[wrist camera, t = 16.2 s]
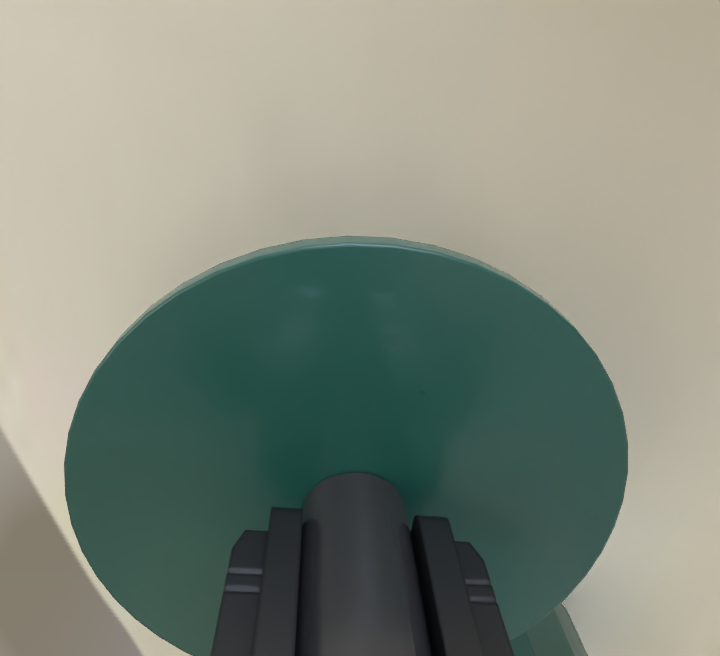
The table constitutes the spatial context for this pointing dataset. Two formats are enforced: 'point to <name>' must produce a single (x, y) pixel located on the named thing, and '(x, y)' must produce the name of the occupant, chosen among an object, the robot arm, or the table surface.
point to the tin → (550, 637)
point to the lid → (345, 441)
